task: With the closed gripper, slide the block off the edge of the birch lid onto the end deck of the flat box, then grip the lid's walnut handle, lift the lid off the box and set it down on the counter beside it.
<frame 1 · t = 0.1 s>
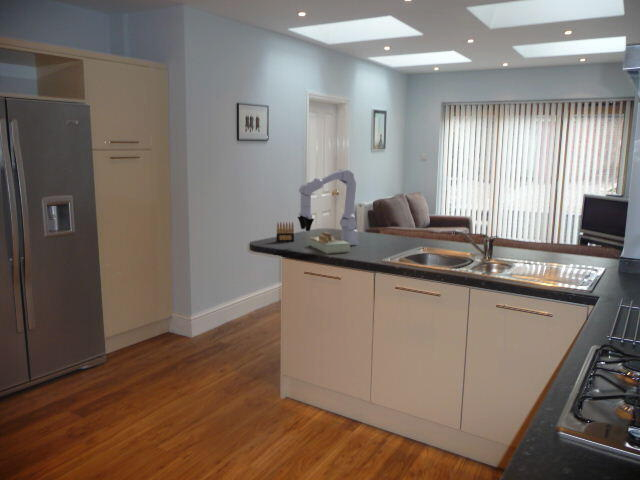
hand: (305, 229, 296), 10 cm above the worktop, fingers open, 7 cm apart
block: (323, 239, 288), point 7 cm above the worktop, slide at 0.0 cm
flat box: (329, 248, 295), on the worktop
lid: (326, 240, 297), point 4 cm above the worktop, touching flat box
ammunition clip: (285, 241, 315), on the worktop
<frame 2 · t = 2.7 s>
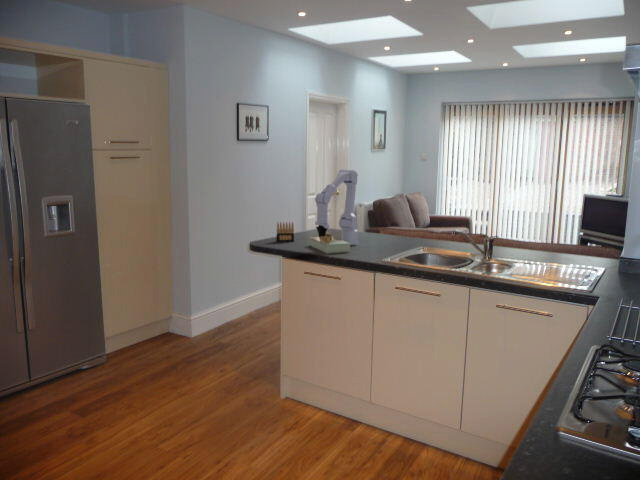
hand: (321, 239, 290), 6 cm above the worktop, fingers closed
block: (324, 239, 286), point 7 cm above the worktop, slide at 2.0 cm, touching gripper
everything else where it was.
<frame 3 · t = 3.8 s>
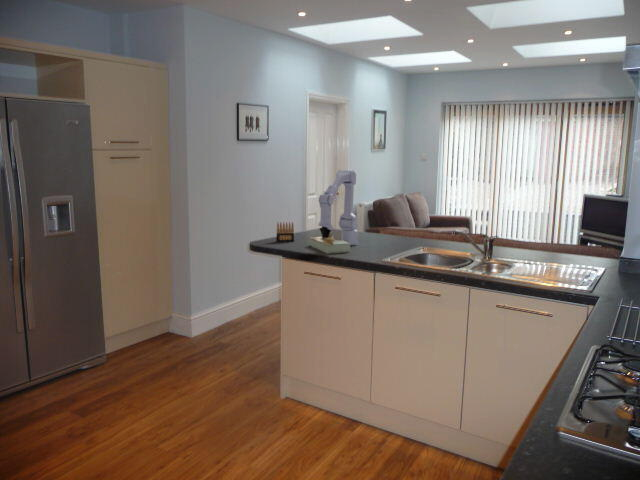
hand: (325, 240, 286), 6 cm above the worktop, fingers closed
block: (328, 241, 282), point 7 cm above the worktop, slide at 6.7 cm, touching gripper
everything else where it was.
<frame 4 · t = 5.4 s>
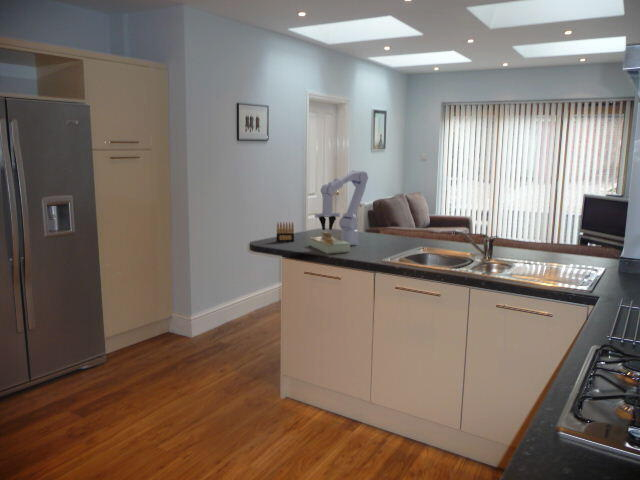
hand: (327, 229, 296), 10 cm above the worktop, fingers open, 4 cm apart
block: (328, 241, 282), point 7 cm above the worktop, slide at 6.8 cm
everything else where it was.
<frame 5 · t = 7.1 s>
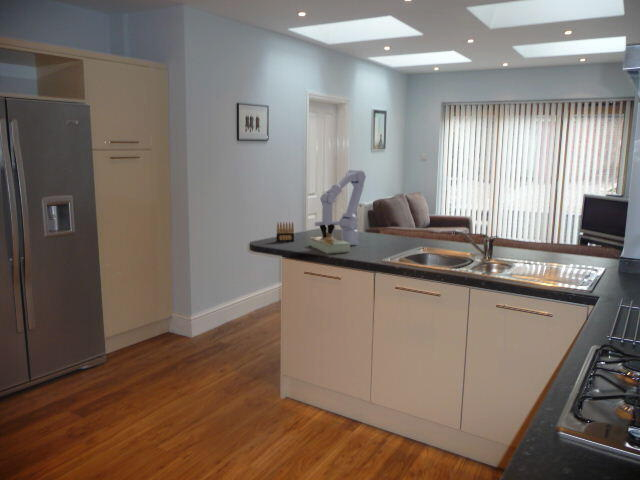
hand: (326, 238, 297), 6 cm above the worktop, fingers closed on lid, 2 cm apart
lid: (326, 240, 297), point 4 cm above the worktop, touching gripper, flat box
everything else where it was.
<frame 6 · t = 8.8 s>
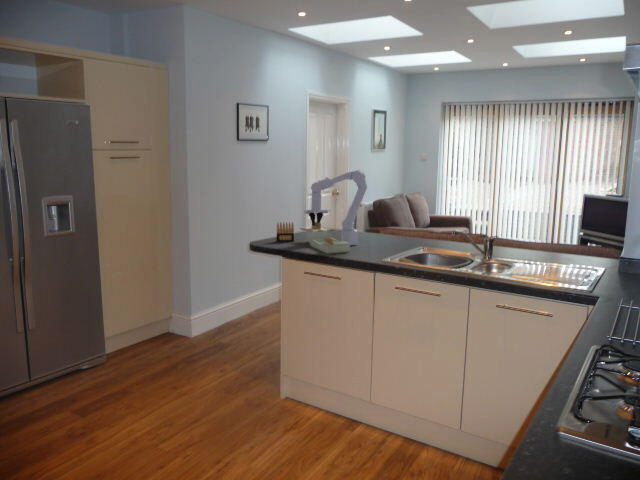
hand: (315, 225, 311), 10 cm above the worktop, fingers closed on lid, 2 cm apart
lid: (316, 230, 310), point 8 cm above the worktop, touching gripper
everything else where it was.
when the fingers open (5 cm above the worktop, at t = 11.0 s): lid drops 2 cm, on the worktop.
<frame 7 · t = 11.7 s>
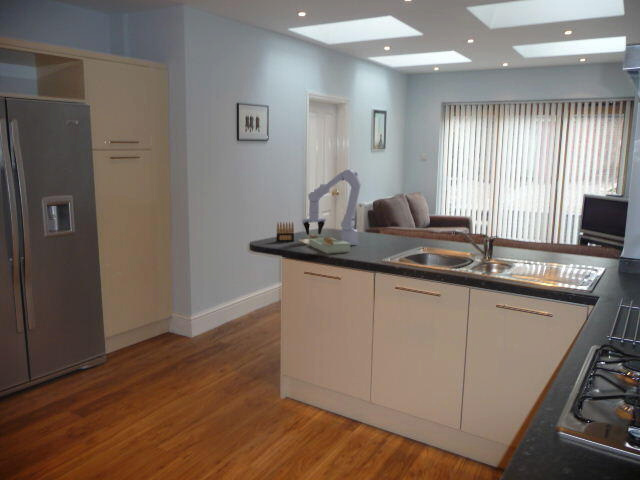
hand: (313, 234, 315), 5 cm above the worktop, fingers open, 7 cm apart
lid: (313, 243, 315), on the worktop
everything else where it was.
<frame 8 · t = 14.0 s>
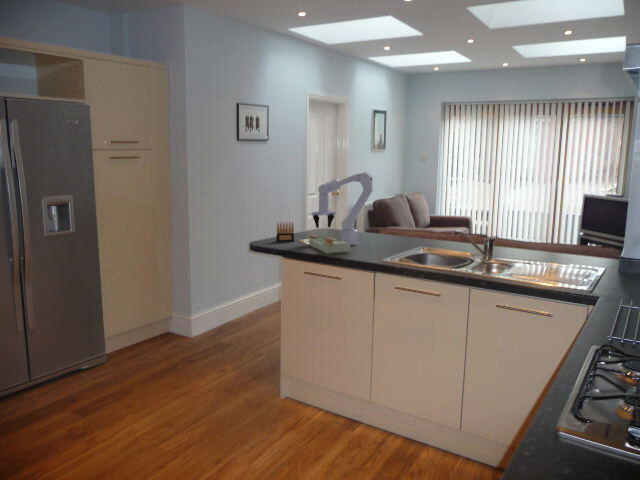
hand: (323, 227, 311), 9 cm above the worktop, fingers open, 7 cm apart
nothing on the worktop moved.
at the end: block slide at 6.8 cm; lid inside the target area (0.2 cm from its centre), on the worktop; the gripper is holding nothing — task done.
